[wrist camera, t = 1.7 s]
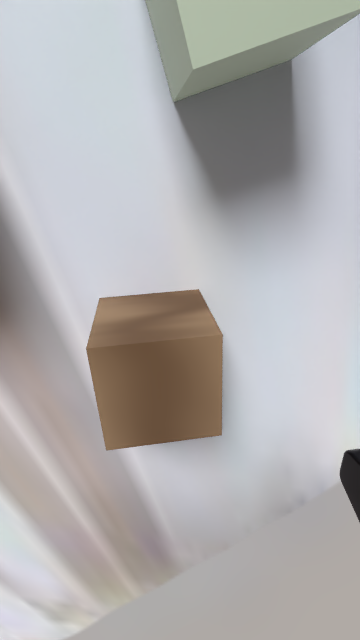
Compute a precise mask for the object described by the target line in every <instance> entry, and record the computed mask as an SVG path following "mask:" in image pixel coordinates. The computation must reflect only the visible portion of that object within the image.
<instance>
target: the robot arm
mask: <svg viewBox="0 0 360 640" xmlns="http://www.w3.org/2000/svg"><path fill="white" fill-rule="evenodd" d="M340 479H341V482H342V484H343V486H344V489H345V491H346V493H347V495H348V497H349V499H350V502H351V504H352V506H353V508H354V511H355V513H356V515H357V517H358V520H359V522H360V449H353V450H347V451H346V452H345V453H344V456H343V460H342V464H341V468H340Z"/></svg>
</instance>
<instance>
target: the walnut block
mask: <svg viewBox="0 0 360 640" xmlns="http://www.w3.org/2000/svg"><path fill="white" fill-rule="evenodd" d="M222 343H223V334H222V333H221V331H220V329H219V327H218V325H217V323H216V321H215V319H214V317H213V315H212V314H211V312H210V310H209V308H208V306H207V304H206V302H205V300H204V298H203V297H202V295H201V293H200V291H199V289H198V290H186V291H175V292H164V293H152V294H141V295H130V296H119V297H107V298H100V299H99V303H98V306H97V310H96V314H95V318H94V321H93V325H92V329H91V333H90V336H89V340H88V344H87V347H86V350H87V355H88V360H89V365H90V370H91V375H92V381H93V386H94V391H95V396H96V401H97V406H98V411H99V416H100V421H101V426H102V431H103V436H104V441H105V446H106V450H113V449H121V448H129V447H136V446H144V445H151V444H159V443H166V442H174V441H182V440H189V439H197V438H204V437H212V436H219V435H222Z"/></svg>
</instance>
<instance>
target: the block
mask: <svg viewBox="0 0 360 640" xmlns="http://www.w3.org/2000/svg"><path fill="white" fill-rule="evenodd" d="M145 1H146V5H147V9H148V12H149V16H150V20H151V23H152V27H153V31H154V34H155V38H156V42H157V45H158V49H159V52H160V56H161V60H162V63H163V67H164V71H165V74H166V78H167V82H168V85H169V89H170V93H171V96H172V100H173V102H176V101H178V100H181V99H184V98H187V97H189V96H192V95H195V94H198V93H201V92H203V91H206V90H209V89H212V88H214V87H217V86H220V85H223V84H225V83H228V82H231V81H234V80H237V79H239V78H242V77H245V76H248V75H250V74H253V73H256V72H259V71H261V70H264V69H267V68H270V67H273V66H275V65H278V64H281V63H284V62H286V61H289V60H292V59H293V58H295V57H296V56H298V55H299V54H301V53H302V52H304V51H305V50H306V49H308V48H309V47H311V46H312V45H314V44H315V43H317V42H318V41H320V40H321V39H323V38H324V37H326V36H327V35H329V34H330V33H332V32H333V31H335V30H336V29H338V28H339V27H340V26H342V25H343V24H345V23H346V22H348V21H349V20H351V19H352V18H354V17H355V16H357V15H358V14H360V0H145Z"/></svg>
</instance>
